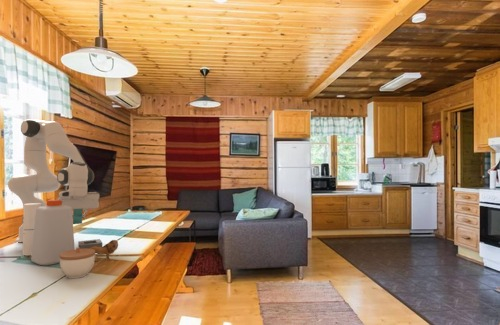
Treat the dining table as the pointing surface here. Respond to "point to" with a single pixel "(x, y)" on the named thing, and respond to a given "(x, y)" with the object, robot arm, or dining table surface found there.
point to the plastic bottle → (52, 232)
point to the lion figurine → (106, 249)
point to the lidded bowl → (77, 262)
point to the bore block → (89, 243)
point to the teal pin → (77, 216)
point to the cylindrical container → (29, 226)
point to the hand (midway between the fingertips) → (77, 218)
